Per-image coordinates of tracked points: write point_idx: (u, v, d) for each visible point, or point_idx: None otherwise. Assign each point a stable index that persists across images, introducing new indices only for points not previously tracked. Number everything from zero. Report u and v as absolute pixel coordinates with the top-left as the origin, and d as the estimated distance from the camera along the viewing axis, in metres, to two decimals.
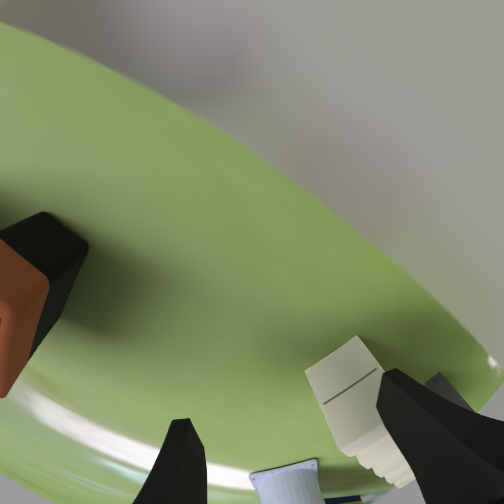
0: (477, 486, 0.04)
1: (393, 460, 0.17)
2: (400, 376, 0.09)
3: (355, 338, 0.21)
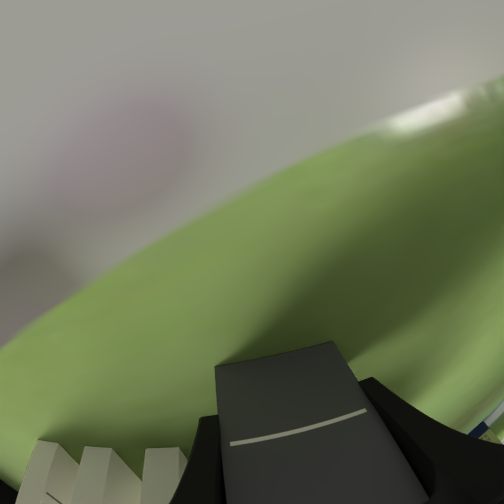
0: None
1: None
2: (375, 386, 0.09)
3: (38, 444, 0.12)
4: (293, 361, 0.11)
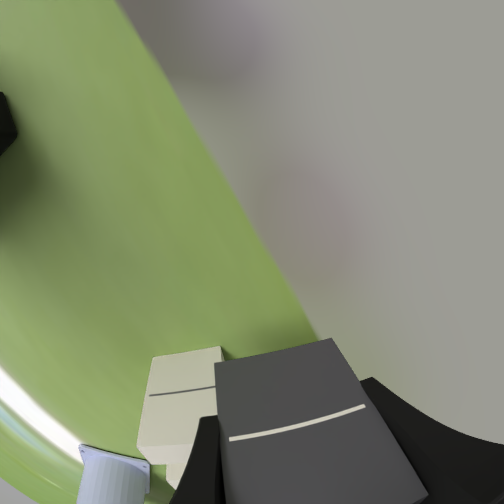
0: None
1: None
2: (375, 386, 0.09)
3: (216, 348, 0.19)
4: (292, 357, 0.11)
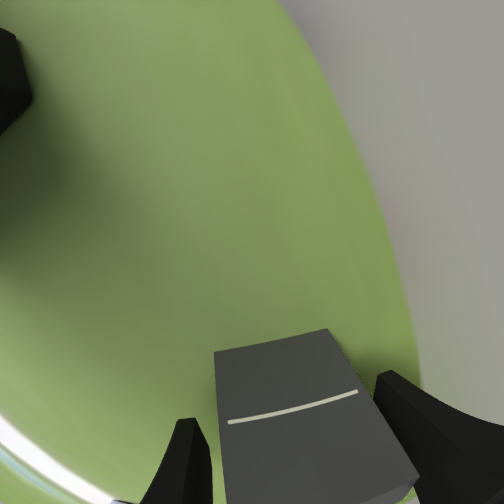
0: (471, 490, 0.04)
1: None
2: (395, 378, 0.09)
3: None
4: (289, 346, 0.12)
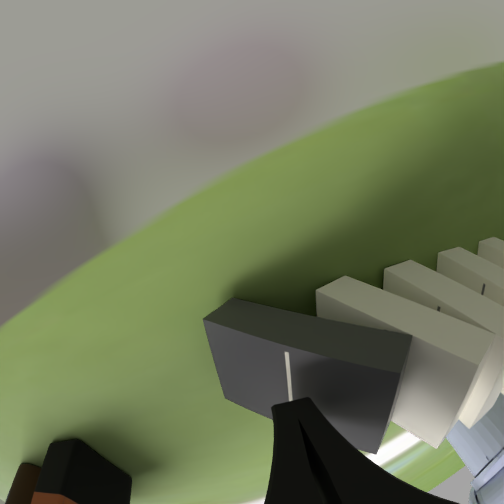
0: None
1: None
2: (307, 407, 0.08)
3: (319, 297, 0.13)
4: (222, 357, 0.12)
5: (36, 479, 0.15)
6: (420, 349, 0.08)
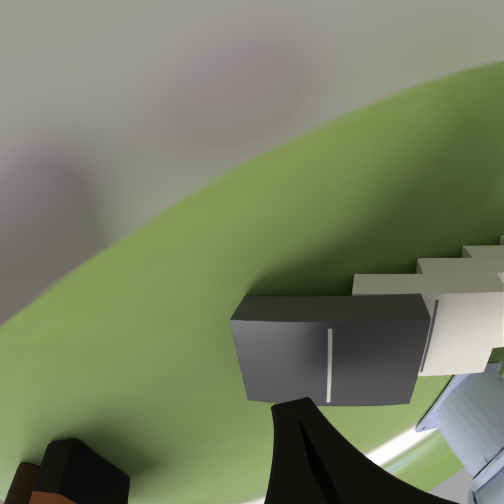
0: None
1: None
2: (307, 407, 0.08)
3: None
4: (251, 356, 0.12)
5: (35, 479, 0.15)
6: (468, 301, 0.10)
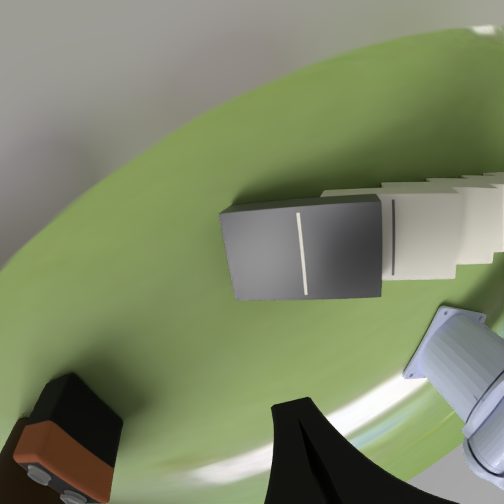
0: None
1: None
2: (307, 407, 0.08)
3: None
4: (236, 247, 0.15)
5: None
6: (422, 201, 0.13)
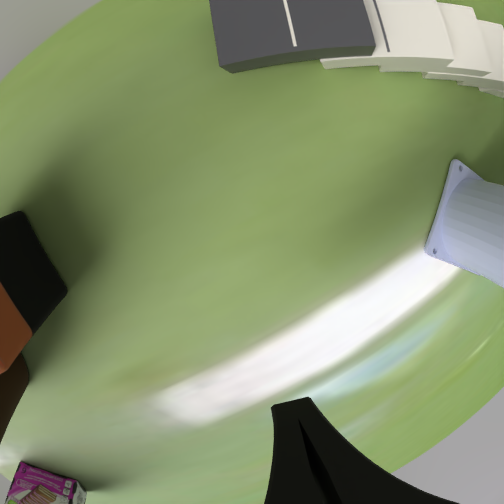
0: None
1: None
2: (307, 407, 0.08)
3: None
4: (223, 15, 0.12)
5: None
6: None
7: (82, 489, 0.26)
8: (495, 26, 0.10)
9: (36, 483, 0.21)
